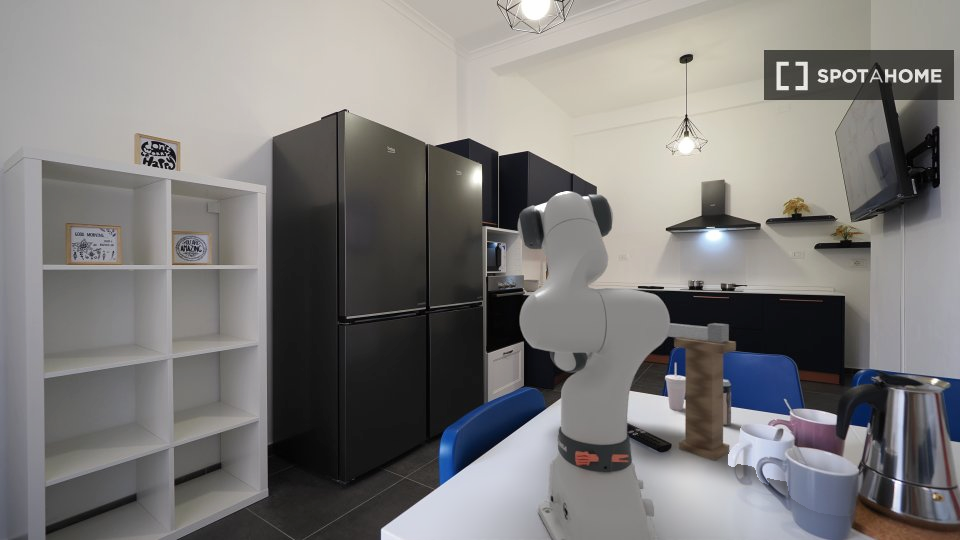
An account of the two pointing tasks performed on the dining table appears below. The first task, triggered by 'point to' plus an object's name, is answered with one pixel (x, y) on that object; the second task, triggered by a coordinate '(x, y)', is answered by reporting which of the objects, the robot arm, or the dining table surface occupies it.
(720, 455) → the walnut stand
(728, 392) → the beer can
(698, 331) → the grey long block
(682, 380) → the smoothie
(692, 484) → the dining table surface
